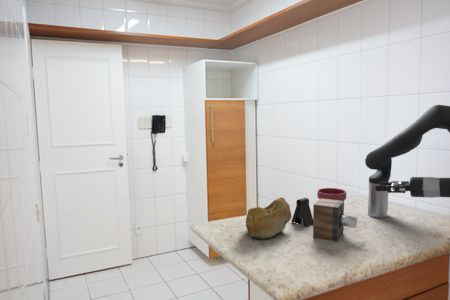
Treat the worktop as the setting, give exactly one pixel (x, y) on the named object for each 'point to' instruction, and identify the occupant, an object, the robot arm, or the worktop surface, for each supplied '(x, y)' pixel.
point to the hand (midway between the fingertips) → (377, 186)
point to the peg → (348, 221)
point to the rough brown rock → (268, 219)
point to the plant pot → (332, 194)
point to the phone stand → (303, 213)
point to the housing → (327, 219)
